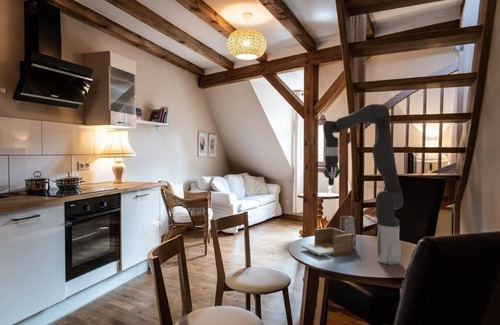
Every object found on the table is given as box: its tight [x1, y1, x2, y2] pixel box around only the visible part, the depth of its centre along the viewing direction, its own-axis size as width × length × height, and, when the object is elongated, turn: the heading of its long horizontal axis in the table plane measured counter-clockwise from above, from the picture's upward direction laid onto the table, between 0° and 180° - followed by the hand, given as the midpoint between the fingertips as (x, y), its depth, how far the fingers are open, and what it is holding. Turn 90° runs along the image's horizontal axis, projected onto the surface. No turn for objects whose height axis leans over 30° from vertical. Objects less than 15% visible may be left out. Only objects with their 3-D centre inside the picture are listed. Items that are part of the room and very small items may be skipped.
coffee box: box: [339, 215, 357, 250], centre depth 171 cm, size 9×6×16 cm
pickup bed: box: [313, 226, 354, 258], centre depth 162 cm, size 16×12×10 cm
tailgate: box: [300, 243, 332, 256], centre depth 158 cm, size 15×2×8 cm
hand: (331, 185), depth 182 cm, fingers closed
